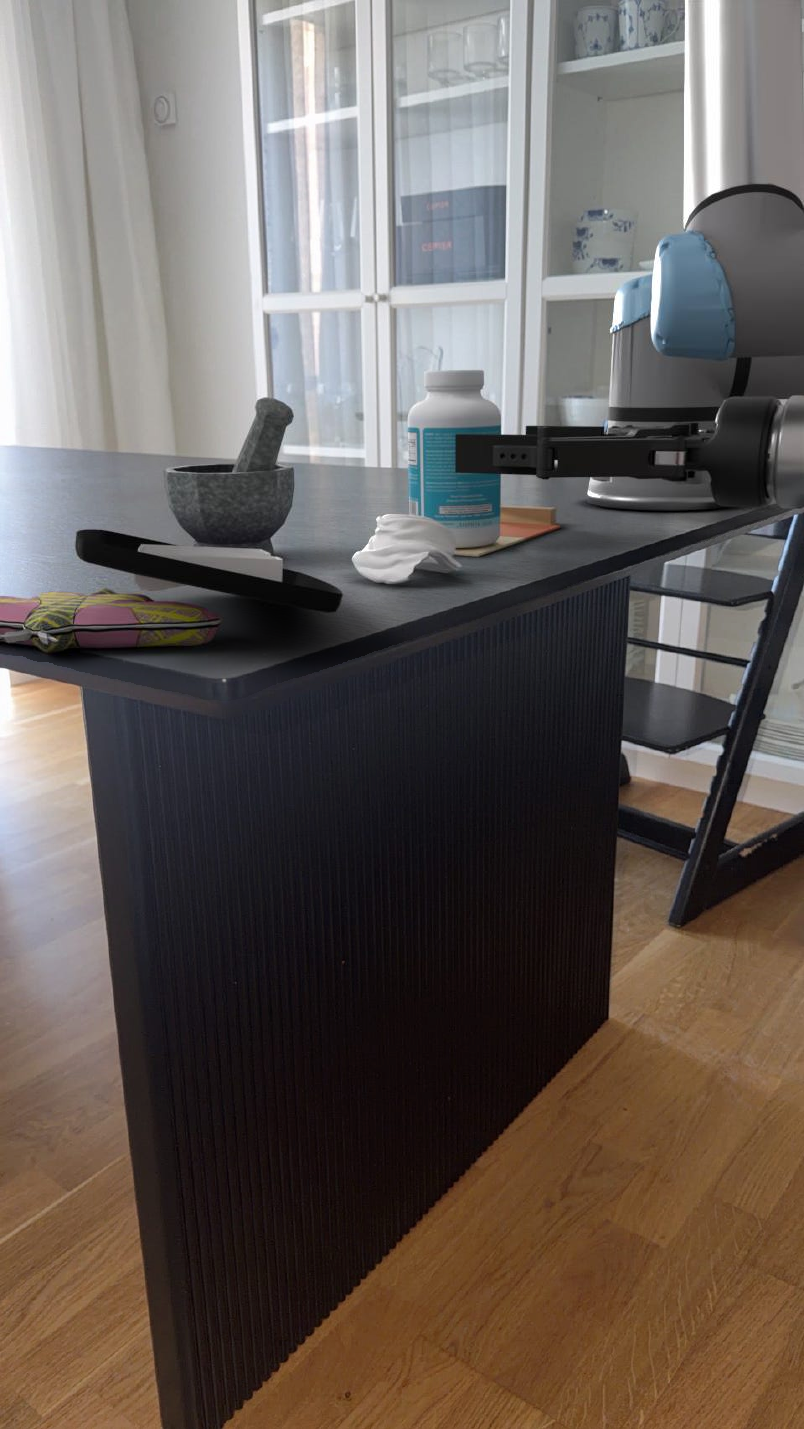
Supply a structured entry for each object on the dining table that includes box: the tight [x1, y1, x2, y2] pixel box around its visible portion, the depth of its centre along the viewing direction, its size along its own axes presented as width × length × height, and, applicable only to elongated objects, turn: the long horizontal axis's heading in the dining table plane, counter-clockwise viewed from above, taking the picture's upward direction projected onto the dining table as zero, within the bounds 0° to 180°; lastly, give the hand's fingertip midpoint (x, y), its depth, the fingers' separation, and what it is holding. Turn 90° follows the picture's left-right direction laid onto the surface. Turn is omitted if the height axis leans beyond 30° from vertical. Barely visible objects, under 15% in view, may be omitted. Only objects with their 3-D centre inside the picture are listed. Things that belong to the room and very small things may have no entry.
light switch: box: [74, 528, 344, 614], centre depth 59 cm, size 20×3×14 cm
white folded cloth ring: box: [351, 513, 463, 585], centre depth 73 cm, size 8×7×5 cm
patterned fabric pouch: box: [0, 588, 222, 654], centre depth 56 cm, size 17×2×10 cm
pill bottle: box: [407, 369, 502, 548], centre depth 85 cm, size 8×7×14 cm
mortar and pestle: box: [162, 396, 295, 557], centre depth 80 cm, size 11×9×12 cm
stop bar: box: [500, 504, 558, 525], centre depth 99 cm, size 1×6×2 cm, turn 61°
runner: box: [453, 522, 562, 558], centre depth 91 cm, size 18×8×1 cm, turn 152°
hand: (494, 447), depth 83 cm, fingers open, 13 cm apart
